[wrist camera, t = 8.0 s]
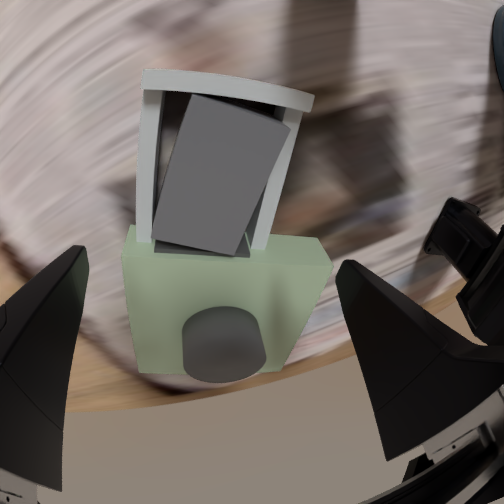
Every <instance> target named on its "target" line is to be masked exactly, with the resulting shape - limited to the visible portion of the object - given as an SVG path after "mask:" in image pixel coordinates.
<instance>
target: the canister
mask: <svg viewBox="0 0 504 504" xmlns="http://www.w3.org/2000/svg"><path fill="white" fill-rule="evenodd" d="M493 46H494V56H495V62H496V67H497V72H498V76H499V79H500V83H501V86H502V88H503V91H504V5H503V6H501V7H500V8H499V10H498V12H497V14H496V17H495V21H494V28H493Z"/></svg>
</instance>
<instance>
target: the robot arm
mask: <svg viewBox="0 0 504 504" xmlns="http://www.w3.org/2000/svg"><path fill="white" fill-rule="evenodd" d="M479 214H480V208H478V207H477V206H475V205H472V204H469V203H467V202H464V201H461V200H459V199H456V198H453V197H451V198H449V200H448V201H447V204H446V206H445V208H444V210H443V212H442V214H441V216H440V218H439V220H438V222H437V224H436V226H435V228H434V230H433V232H432V234H431V236H430V238H429V239H428V241H427V243H426V245H425V247H424V252H425V253H426V254H435V255H444V256H445V257H446V259H447V260H448V261H449V262H450V263H451V264H452V265H453V266H454V268H455V269H456V270H457V271H458V272H459V273H460V275H461V276H462V277H463V278H464V279H465V281H466V282H467V283H466V285H465V286H464V287H463V289H462V290H461V291H460V293H458V294H457V295H456V299H457V301H458V303H459V306H460V308H461V310H462V312H463V314H464V316H465V318H466V320H467V322H468V324H469V327H470V329H471V331H472V332H473V334H474V336H475V337H478V338H479V339H480V340H481V341H482V342H484V343H486V344H487V345H488V346H482V345H477V344H474V343H472V342H471V341H469V340H468V339H466V338H465V337H463V336H462V335H460V334H459V333H457V332H456V331H454V330H453V329H451V328H450V327H449V326H447V325H446V324H444V323H443V322H441V321H440V320H439V319H437V318H436V317H434V316H433V315H432V314H430V313H429V312H428V311H426V310H425V309H423V308H422V307H421V306H419V305H418V304H417V303H415V302H414V301H413V300H411V299H410V298H408V297H407V296H406V295H404V294H403V293H401V292H400V291H399V290H397V289H396V288H394V287H393V286H392V285H390V284H389V283H387V282H386V281H384V280H383V279H382V278H380V277H379V276H377V275H376V274H374V273H373V272H372V271H370V270H369V269H367V268H366V267H364V266H363V265H361V264H360V263H358V262H357V261H355V260H347V259H346V260H344V261H343V262H342V264H341V267H340V269H339V271H338V273H337V275H336V279H335V282H336V286H337V290H338V294H339V298H340V302H341V306H342V311H343V314H344V318H345V321H346V324H347V327H348V330H349V333H350V336H351V339H352V342H353V345H354V348H355V351H356V354H357V357H358V361H359V363H360V367H361V370H362V373H363V377H364V380H365V383H366V387H367V390H368V393H369V397H370V400H371V404H372V407H373V411H374V415H375V419H376V423H377V426H378V430H379V434H380V438H381V442H382V446H383V450H384V454H385V458H386V461H390V460H392V459H394V458H396V457H399V456H400V455H403V454H405V453H407V452H409V451H411V450H412V449H414V448H417V447H419V446H420V445H423V447H424V450H425V453H424V454H422V455H420V456H418V457H417V458H415V459H413V460H411V461H409V464H408V467H407V470H406V473H405V475H404V478H403V481H402V483H401V484H399V485H398V486H396V487H394V488H392V489H390V490H388V491H386V492H383V493H381V494H379V495H377V496H375V497H373V498H370V499H368V500H366V501H363V502H361V503H358V504H488V503H490V502H492V501H495V500H497V499H500V498H502V497H504V225H502V227H501V230H500V232H499V234H497V233H496V232H495V231H494V230H492V229H491V228H490V227H489V226H488V225H487V224H486V223H485V222H484V221H483V220H481V219H480V218H479V217H478V216H479ZM88 275H89V263H88V257H87V251H86V248H85V246H82V245H73V246H72V247H70V248H69V249H68V250H66V251H65V252H64V253H63V254H61V255H60V256H59V257H57V258H56V259H55V260H54V261H52V262H51V263H50V264H49V265H47V266H46V267H45V268H44V269H42V270H41V271H40V272H39V273H38V274H36V275H35V276H34V277H33V278H32V279H31V280H29V281H28V282H27V283H26V284H25V285H24V286H22V287H21V288H20V289H19V290H18V291H17V292H16V293H15V294H13V295H12V296H11V297H10V298H9V299H8V300H7V301H6V302H5V304H3V305H1V306H0V504H40V503H39V502H38V501H37V485H39V486H42V487H46V488H49V489H52V490H56V491H60V492H62V445H63V427H64V416H65V406H66V398H67V390H68V383H69V377H70V371H71V365H72V359H73V354H74V349H75V344H76V339H77V335H78V330H79V326H80V322H81V317H82V313H83V307H84V300H85V293H86V287H87V281H88Z"/></svg>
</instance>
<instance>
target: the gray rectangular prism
mask: <svg viewBox="0 0 504 504" xmlns="http://www.w3.org/2000/svg"><path fill="white" fill-rule="evenodd" d="M290 131H291V129H290V128H289V127H288V126H286V125H285V124H284V123H282V122H281V121H280V120H278V119H277V118H276V117H274V116H273V115H271V114H268V113H266V112H263V111H260V110H258V109H255V108H252V107H249V106H246V105H243V104H241V103H238V102H235V101H232V100H229V99H225V98H222V97H219V96H216V95H212V94H204V93H194V92H192V93H191V96H190V99H189V102H188V104H187V107H186V110H185V113H184V116H183V119H182V122H181V125H180V128H179V131H178V134H177V137H176V140H175V143H174V147H173V150H172V153H171V156H170V160H169V163H168V167H167V170H166V174H165V177H164V181H163V185H162V188H161V192H160V196H159V200H158V204H157V208H156V213H155V218H154V222H153V227H152V233H151V238H152V239H156V240H161V241H166V242H171V243H175V244H180V245H185V246H189V247H194V248H199V249H204V250H209V251H213V252H218V253H223V254H228V255H232V256H234V254H235V252H236V250H237V248H238V245H239V243H240V241H241V239H242V236H243V234H244V232H245V230H246V227H247V225H248V223H249V221H250V218H251V216H252V214H253V212H254V209H255V207H256V205H257V203H258V201H259V198H260V196H261V194H262V192H263V190H264V187H265V185H266V183H267V181H268V179H269V176H270V174H271V172H272V170H273V168H274V165H275V163H276V161H277V159H278V157H279V154H280V152H281V150H282V148H283V146H284V144H285V141H286V139H287V137H288V135H289V133H290Z"/></svg>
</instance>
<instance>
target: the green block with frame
mask: <svg viewBox="0 0 504 504" xmlns="http://www.w3.org/2000/svg"><path fill="white" fill-rule="evenodd" d="M140 89H144V91H143V99H142V107H141V117H140V128H139V140H138V156H137V179H136V225H130V228H129V231H128V234H127V237H126V241H125V244H124V248H123V251H122V255H121V259H122V269H123V278H124V287H125V295H126V302H127V309H128V316H129V322H130V328H131V334H132V339H133V345H134V350H135V355H136V360H137V364H138V369H139V373H152V374H181V375H190V376H191V377H193V378H195V379H197V380H200V381H204V382H210V383H226V382H233V381H237V380H241V379H244V378H247V377H249V376H251V375H253V374H255V373H262V372H275V371H281V369H282V367H283V365H284V364H285V362H286V360H287V358H288V356H289V355H290V353H291V351H292V349H293V347H294V345H295V344H296V342H297V340H298V338H299V336H300V334H301V332H302V330H303V328H304V327H305V325H306V323H307V321H308V319H309V317H310V315H311V313H312V311H313V309H314V307H315V305H316V303H317V301H318V299H319V297H320V295H321V293H322V291H323V289H324V287H325V285H326V283H327V280H328V278H329V276H330V274H331V272H332V270H333V268H334V265H333V264H332V262H331V260H330V259H329V257H328V255H327V254H326V252H325V250H324V249H323V247H322V245H321V244H320V242H319V240H318V239H317V238H313V237H301V236H289V235H277V234H270V230H271V227H272V223H273V220H274V216H275V212H276V209H277V205H278V202H279V198H280V195H281V191H282V187H283V184H284V180H285V177H286V173H287V169H288V166H289V162H290V158H291V155H292V151H293V147H294V144H295V140H296V136H297V133H298V129H299V125H300V121H301V118H302V114H303V111H305V112H309V113H310V112H311V108H312V105H313V101H314V97H315V95H312V94H310V93H307V92H303V91H300V90H297V89H293V88H289V87H285V86H281V85H276V84H272V83H267V82H262V81H257V80H252V79H246V78H241V77H234V76H228V75H221V74H213V73H205V72H196V71H185V70H172V69H143V73H142V80H141V88H140ZM166 90H170V91H183V92H194V93H204V94H212V95H220V96H227V97H234V98H241V99H247V100H253V101H258V102H263V103H269V104H274V105H276V107H275V111H274V115H273V116H274V117H276V118H277V119H278V120H280V121H281V122H282V123H284V124H285V125H286V126H288V127H289V128H290V129H291V131H290V133H289V135H288V137H287V139H286V141H285V144H284V146H283V148H282V150H281V152H280V154H279V157H278V159H277V161H276V163H275V165H274V168H273V170H272V172H271V174H270V176H269V179H268V181H267V183H266V185H265V187H264V190H263V192H262V194H261V196H260V198H259V201H258V203H257V205H256V207H255V209H254V212H253V214H252V216H251V218H250V221H249V223H248V225H247V229H246V232H244V234H243V236H242V239H241V241H240V243H239V245H238V248H237V250H236V252H235V254H234V256H232V255H228V254H223V253H218V252H213V251H209V250H204V249H199V248H194V247H189V246H185V245H180V244H175V243H171V242H166V241H161V240H156V239H152V238H151V233H152V227H153V222H154V218H155V202H156V183H157V168H158V156H159V145H160V135H161V126H162V118H163V110H164V102H165V95H166Z"/></svg>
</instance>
